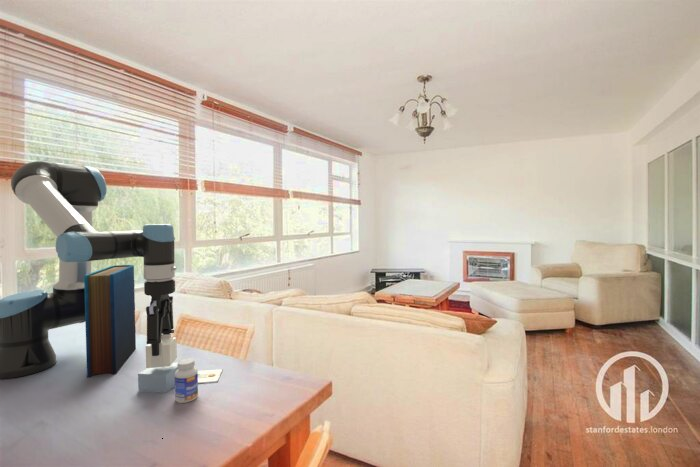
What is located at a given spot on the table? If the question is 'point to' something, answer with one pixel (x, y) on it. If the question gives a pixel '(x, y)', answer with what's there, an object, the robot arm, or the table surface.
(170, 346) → the cream cube
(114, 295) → the book
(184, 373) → the pill bottle
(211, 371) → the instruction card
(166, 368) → the base block
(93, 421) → the table surface
